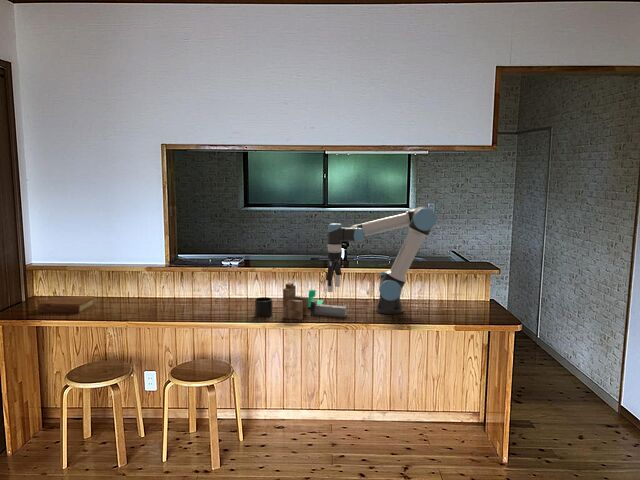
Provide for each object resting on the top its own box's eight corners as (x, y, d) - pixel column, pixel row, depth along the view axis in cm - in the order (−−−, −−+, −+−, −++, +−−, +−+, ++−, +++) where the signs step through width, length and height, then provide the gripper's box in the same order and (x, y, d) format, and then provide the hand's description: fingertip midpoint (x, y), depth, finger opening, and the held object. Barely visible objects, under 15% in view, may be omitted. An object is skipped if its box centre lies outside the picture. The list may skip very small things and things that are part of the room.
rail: (346, 315, 283) (346, 303, 282) (344, 317, 279) (344, 304, 278) (312, 311, 289) (313, 300, 288) (310, 313, 285) (310, 301, 284)
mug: (275, 312, 288) (275, 296, 287) (269, 318, 276) (269, 301, 275) (259, 311, 290) (258, 295, 288) (253, 317, 278) (252, 301, 277)
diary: (38, 314, 283) (38, 304, 283) (57, 305, 302) (56, 295, 301) (79, 314, 283) (78, 304, 282) (95, 305, 301) (94, 295, 300)
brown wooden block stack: (308, 314, 284) (308, 282, 281) (301, 319, 273) (301, 287, 271) (290, 312, 287) (290, 281, 285) (283, 317, 277) (283, 285, 274)
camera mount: (320, 309, 294) (320, 292, 293) (307, 309, 295) (307, 291, 294) (323, 304, 306) (323, 287, 305) (311, 303, 307) (311, 287, 306)
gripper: (334, 247, 291) (333, 283, 294) (320, 254, 268) (320, 293, 271) (347, 248, 289) (346, 285, 292) (334, 255, 265) (333, 294, 268)
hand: (333, 289), depth 281 cm, fingers open, 13 cm apart
